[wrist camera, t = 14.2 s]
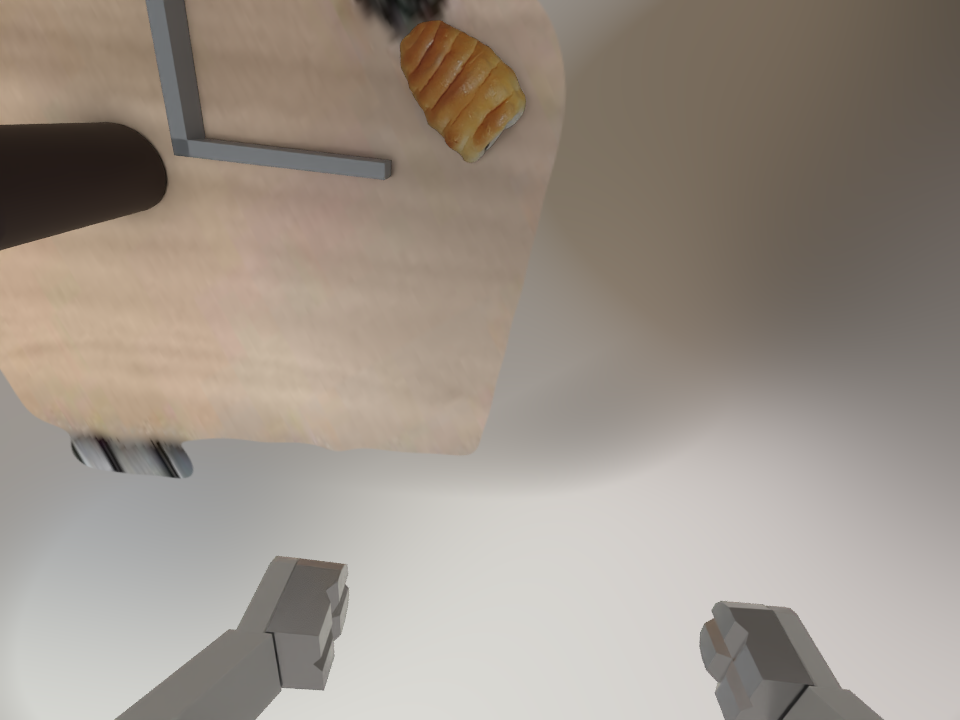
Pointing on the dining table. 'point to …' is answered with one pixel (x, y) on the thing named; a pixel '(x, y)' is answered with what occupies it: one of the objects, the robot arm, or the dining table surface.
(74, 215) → the bottle
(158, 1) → the corral
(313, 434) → the dining table surface
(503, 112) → the pastry
